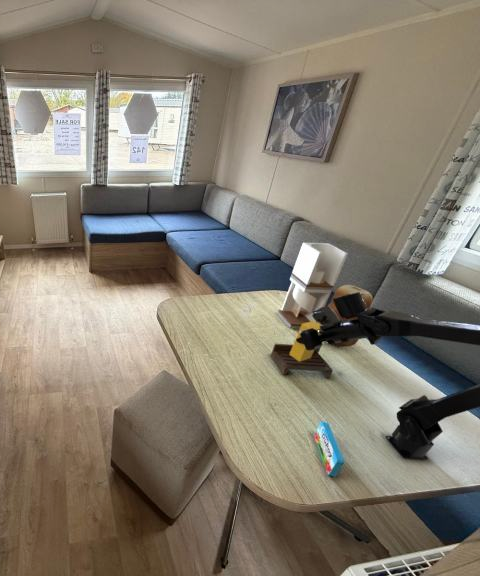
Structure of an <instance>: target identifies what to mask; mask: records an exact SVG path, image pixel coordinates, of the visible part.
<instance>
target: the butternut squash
mask: <svg viewBox="0 0 480 576" xmlns="http://www.w3.org/2000/svg"><path fill="white" fill-rule="evenodd" d="M357 292H360V293H361V295H362V299H363V301H364V303H365V305H366V307H367V308H368V309H370V308H372V307H371V306H372V304H373V296H372V294H371V293H370V291H368V290H366V289H363V288H360V287H358V286H356V285H353V284H344V285H341V286H340V287H338V288H337V289H336V291H334V294H333V296H332V298H331V300H330V301H329V303H328V305H327V306H328V307H330V308H331V309H332V310H333V311H334V312H335V313H336V315H337V316H338V318H339V319H340V320H346V321H349V320H354V319H358V318H357V317H354V318H350V319H346V318H342V317H341V316H340V314H339V312H338V310H337V308H336V306H335V304H334V302H333V300H332V299H334V298H337V297H340V296H343V295H347V294H350V293H351V294H353V293H357ZM318 324H320V322H318ZM320 325H321V326H322V324H320ZM359 340H360V339H357V340H351V341H347V342H343V343H342V342H337V343H334V344H329V345H330V346H331V347H336V348H348V347H353V346H355V345H356V344H357V343H358V341H359ZM324 343H327V344H328V342H327V341H325V342H324Z"/></svg>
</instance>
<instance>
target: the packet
mask: <svg viewBox="0 0 480 576" xmlns="http://www.w3.org/2000/svg"><path fill="white" fill-rule="evenodd" d="M319 326H321V325H320V324H318V323H316V322H314V321H311V322H307V323H304V324H302V325H301V327H300V328H299V330H298V332H297V334H296V337H295V339H294V341H293V344H292V345H293V347H292V349H291V352H290V354H289V355H291V356H292V357H294V358H295V359H296V360H298V361H299V362H300V361H303V360H306V359H309V358H311V356H312V354H313V352H314V350H310V351H308V350H306V348H305V346H304V344H301V343H298V342H297V341H296V339H297V338H299V337H301V336H300V331H303V330H307V329H311V328H313V329H315V330H317V332H318V335H321V334H320V333H319V331H320V330H321V329H320V327H319Z"/></svg>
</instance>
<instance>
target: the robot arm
mask: <svg viewBox="0 0 480 576" xmlns="http://www.w3.org/2000/svg"><path fill="white" fill-rule="evenodd" d="M331 300H333V302H334V304H335V306H336V308H337V310H338V312H339V314H340V316H341V317H342V318H346V319H350V318H354V317H357V318H358V319H354V320H349V321H346V320H340V319H339V318H338V316H337V315H336V313H335V312H334V311H333V310H332V309H331V308H330V307H328V305H325V307H321V308H319V309H318V310H316V311H313V314H312V317H313V318H314V319H315V320H316V321H317V322H320V324H322V326H319V327H320V329H321V330H320V331H319V333H320V334H321V335H318V332H317V330H315V329H313V328H311V329H307V330H303V331H300V336H301V337H299V338H297V339H296V338H295V339H296V341H297V342H298V343H301V344H304V346H305V348H306V350H308V351H310V350H315V349H318V348H320V349H321V348H322V346H323V343H327V342H328V343H327V345H330V344H334V343H337V342H342V343H343V342H347V341H351V340H357V339H359V340H362V339H363V340H364V339H367V341H368V343H370V345H372V346H373V345H376V344H379V343H380V342H381V341H382V339H383V337H386V338H404V337H405V338H406V337H418V338H425V339H433V340H439V341H447V342H453V343H458V344H459V343H460V344H464V345H465V344H467V345H472V346H473V345H474V346H479V347H480V325H476V324H468V323H458V322H451V321H441V320H433V319H425V318H424V319H423V318H419V317H416V316H414V315H411V314H408V313H404V312H400V311H396V310H383V309H380V308H376V307H370V309H368V308H367V307H366V305H365V303H364V301H363V299H362V295H361V293H360V292H357V293H353V294H351V293H350V294H347V295H343V296H340V297H337V298H334V299H332V298H331ZM325 341H327V342H325ZM477 408H480V383H479V384H476V385H473V386H470V387H468V388H464V389H462V390H460V391H457V392H454V393H451V394H448V395H446V396H442V397H439V398H436V399H435V398H434V399H429V398H428V397H427V395H426V394H422V396H420V397H418V398H410V399H409V400H408V401H406V402H405V403H404V404H402V405H401V406H399V407H398V409H399V410H398V411H397V412H396V419H397V421H398V423H399V424H398V425H397V426H396V428H395V429H394V430H393V432H392V433H391V435H386V436H385V439H386V440H387V441H388V442H389V444H390V445H391V446H392V447H393V449H394V450H395V451H396V452H397V453H398V455H399V456H400V457H401V458H402V459H405V460H416V461H417V460H418V461H428V460H429V457H428V456H427V454H428V453H429V452H430V450H431V449H432V448H433V447H434V445H435V443H434V442H433V441H434V440H435V439H436V438H437V437H439V436H440V435H441V434H442V433H443V432H444V431H443V429H442V427H441V425H440V423H439V422H441V421H443V420H444V419H446V418H448V417H452V416H456V415H459V414H461V413H464V412H468V411H472V410H475V409H477Z"/></svg>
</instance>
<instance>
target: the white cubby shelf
mask: <svg viewBox="0 0 480 576" xmlns="http://www.w3.org/2000/svg"><path fill="white" fill-rule="evenodd" d="M348 255H349V253H348V252H346V251H345V250H342V249H340V248H339V247H336V246H334V245H333V244H331V243H328V242H327V243H326V242H304V241H303V242H302V245H301V246H300V250H299V253H298V256H297V258H296V261H295V264H294V266H293V269H292V272H291V275H290V278H289V281H290V285H289V287H288V290H287V292H286V295H285V299H284V301H283V303H282V304H283V305H282V306H281V309H278V311H277V315H278V316H279V317H280V318H281V320H282V321H283V323H285V324H286V326H288V327H289V328H290V329H300V327H301V325H302V324H304V323H307V322H311V321H314V322H316V323H318V322H317V321H316V320H315V319H314V318H313V317H312V314H313V311H316V310H318V309H319V308H321V307H325V306H327V302H328V300H329V297H330V296H331V293H332V291H333V288H334V287H335V284H336V282H337V280H338V278H339V275H340V273H341V271H342V268H343V266H344V264H345V263H346V262H345V261H346V259H347V258H348Z"/></svg>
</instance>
